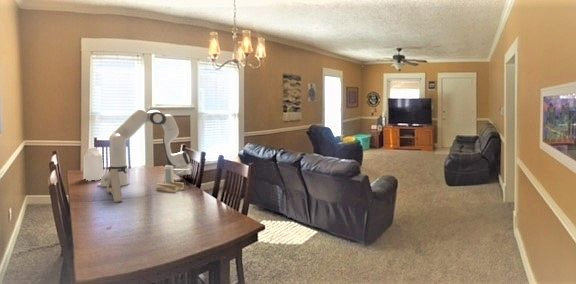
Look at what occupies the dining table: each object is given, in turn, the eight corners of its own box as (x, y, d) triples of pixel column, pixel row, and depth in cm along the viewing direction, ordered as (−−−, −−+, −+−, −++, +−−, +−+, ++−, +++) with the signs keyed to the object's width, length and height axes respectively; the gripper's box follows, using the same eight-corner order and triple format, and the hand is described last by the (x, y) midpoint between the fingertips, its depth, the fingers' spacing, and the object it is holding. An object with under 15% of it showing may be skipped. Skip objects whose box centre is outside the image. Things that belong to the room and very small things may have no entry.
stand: (166, 187, 297) (166, 181, 296) (184, 188, 290) (184, 182, 290) (156, 190, 287) (156, 183, 286) (174, 192, 280) (174, 185, 280)
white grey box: (167, 185, 304) (166, 165, 302) (174, 185, 303) (173, 165, 301) (164, 186, 300) (164, 166, 299) (171, 186, 299) (171, 166, 298)
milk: (98, 177, 336) (97, 146, 333) (104, 179, 328) (102, 147, 325) (83, 179, 327) (81, 147, 324) (88, 181, 319) (86, 148, 316)
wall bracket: (117, 217, 275) (122, 200, 253) (110, 218, 273) (114, 201, 251) (113, 188, 284) (117, 169, 262) (106, 189, 282) (110, 169, 260)
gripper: (168, 165, 323) (160, 168, 309) (192, 166, 320) (185, 169, 306) (168, 173, 324) (160, 176, 310) (192, 174, 321) (185, 177, 307)
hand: (173, 172), depth 308 cm, fingers open, 8 cm apart
